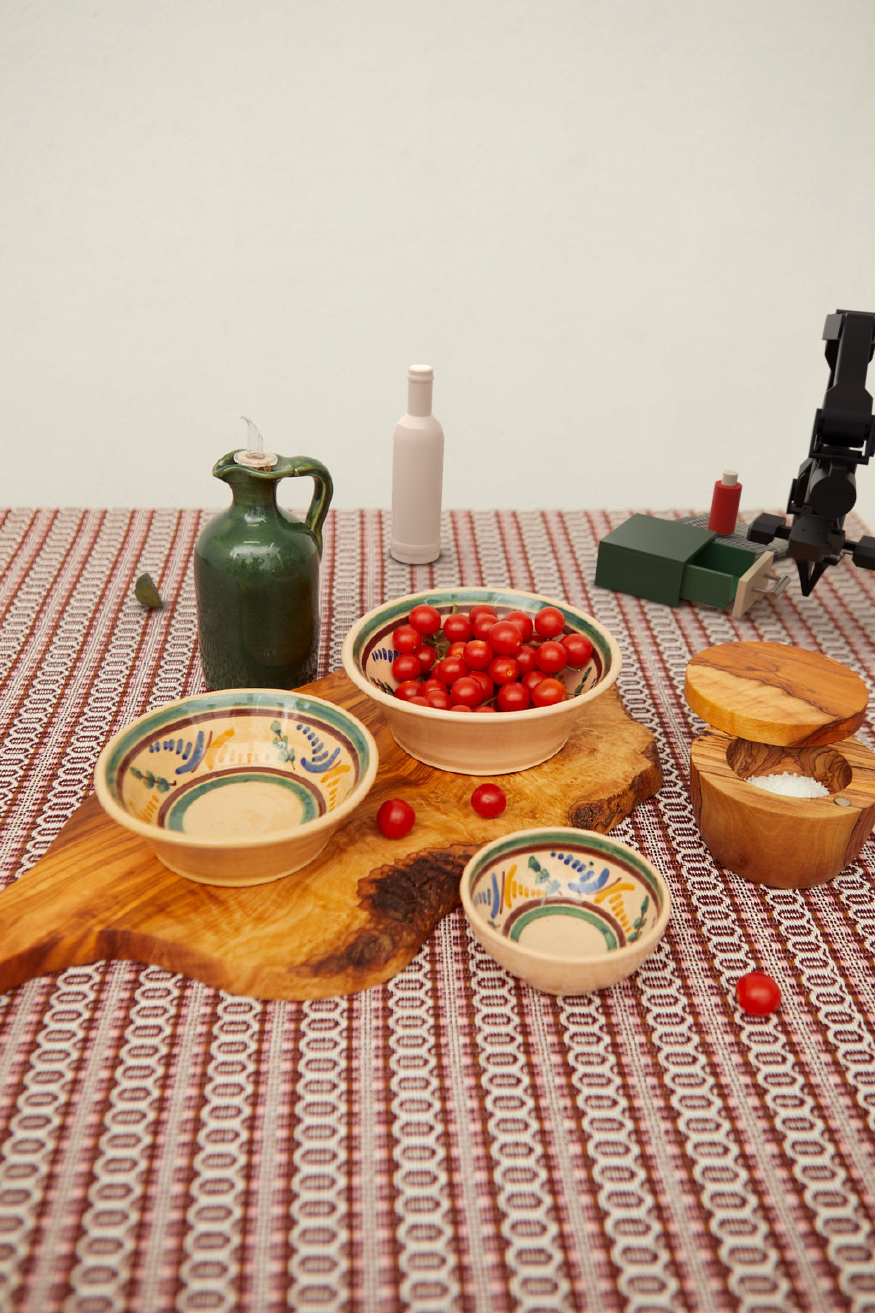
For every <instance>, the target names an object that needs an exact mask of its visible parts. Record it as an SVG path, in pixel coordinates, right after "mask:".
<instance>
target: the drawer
mask: <svg viewBox="0 0 875 1313" xmlns="http://www.w3.org/2000/svg"><path fill="white" fill-rule="evenodd" d="M756 555H757V551H755V550H751V549H747V548H743V547H739V546H734V545H730V544H726V543H722V542H718V541H714V540H711V541H710V542H709V543H708V544H707V545H706V546H705V547H704V548H703V549H702V550H701V551H699V552H698V553H697V554H696V555H695V556H694V557H693V558H692V559H691V560H690V561H688V562H687V563H686V564H685V568H684V574H683V580H682V587H681V593H680V598H682V599H685V601H686V600H687V601H690V602H694V603H698V604H701V605H705V606H709V607H712V608H715V609H719V610H724V611H726V610H728V609H729V607H730V606H731V605H732V604H733V609H732V613H731V614H732V615H731V616H733V617H736V618H741V617H742V616H743V615H745V613H746V612H747V610H748V609H750V607H751V606H752V605H753V604H754V603H755V601H756V600H758V598H759V597H760V596H761V595H763V596H767V598H768V599H769V600H770V601H777V599H778V598H779V596H781V594H783V592H784V590H785V589H786V588H787V587H788V586H789V585H790V583H791V582H792V578H791V576H789V575H786V574H785V575H783V576H778V575H775V574H771V570H772V566H773V561H774V559H773V556H774V552H770V551H766V552H765V553H764V554H763V555H762V556H761V557H760V558H759V559H758V560H757V561H756V562H755V560H756ZM769 580H770V581H774V582H776V583H775V584H774V586H773V587H772V588H771V589H770V590H768V589H767V588H768V585H769Z"/></svg>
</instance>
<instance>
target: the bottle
mask: <svg viewBox="0 0 875 1313" xmlns="http://www.w3.org/2000/svg"><path fill="white" fill-rule="evenodd" d="M406 379H407V412H406V413H405V415H403V416H402V417H401V418H400V419H399V420H398V421H397V423H396V425H395V429H394V431H393V435H392V467H391V468H392V469H391V470H392V471H391V473H392V474H391V475H392V476H391V521H390V522H391V524H390V536H389V537H390V538H389V543H390V544H389V546H390V555H391V557H392V558H393V559H394V560H396V561H397V562H400V563H402V564H408V565H425V564H430V563H433V562H434V561H436V560H438V559H439V557H440V549H441V545H442V544H441V542H442V541H441V540H442V539H441V527H442V524H441V523H442V505H443V504H442V501H443V480H444V478H443V477H444V456H445V455H444V454H445V434H444V431H443V427H442V424H441V422H440V421H439V420H438V419H437V418H436V417H435V415H434V414H433V412H432V410H433V408H432V407H433V384H434V382H433V381H434V379H435V376H434V369H433V367H432V366H430V365H428V364H421V363H420V364H419V363H418V364H412V365H410V366H409V367H408V372H407V376H406Z"/></svg>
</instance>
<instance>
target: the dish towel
mask: <svg viewBox="0 0 875 1313" xmlns="http://www.w3.org/2000/svg"><path fill="white" fill-rule="evenodd" d="M709 517H710V512H704V513H702V514H698V515H690V516H683V517H680V518H679V517H678V518H675V519H668V520H669V521H673V522H677V523H682V524H686V525H690V526H694V527H698V528H703V529H707V530H708V523H709ZM749 525H750V523H745V522H744V521H741V520H738V519H737V520H736V526H735V532H734V533H732V534H729V535H721V534H717V536H716V541H718V542H722V543H726V544H730V545H734V546H739V547H743V548H747V549H751V550H755V551H757V555H756V560H755V562H756V561H757V560H758V559H759V558H760V557H761V556H762V555H763V554H764V553H765V552H766V551H770V552H774V556H773V560H775V559H777V558H781V557H783V556H787V555H786V553H785V551H786V550H787V548H788V543H789V542H788V541H786V540H784V539H780V538H776V537H775V538H774V541H773V542H771V543H770V544H768V545H763V544H759V543H754V542H750V541H748V540H747V539H746V538H747V532H748V528H749Z"/></svg>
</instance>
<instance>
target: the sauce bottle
mask: <svg viewBox="0 0 875 1313" xmlns="http://www.w3.org/2000/svg"><path fill="white" fill-rule="evenodd" d="M738 478H739V472H738V471H735V470H731V469H729V470H728V469H726V470H723V471H722V477H721V479H718V480H716V481H715V482H714V486H713V492H712V499H711V505H710V517H709V523H708V530H711V531H715V532H717V534H721V535H729V534H732V533H734V532H735V526H736V520H738V513H739V508H740V502H741V497H742V491H743V484H742V483H740V482H738Z"/></svg>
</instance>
